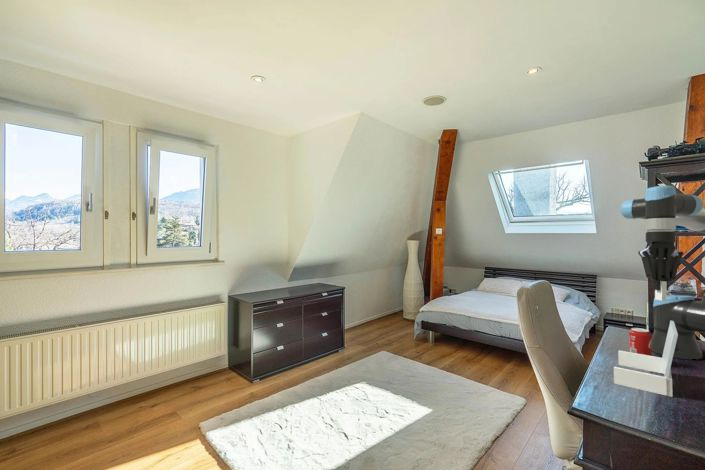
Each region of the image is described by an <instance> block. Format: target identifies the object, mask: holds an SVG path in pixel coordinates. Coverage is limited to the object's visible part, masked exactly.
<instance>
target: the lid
mask: <svg viewBox="0 0 705 470" xmlns="http://www.w3.org/2000/svg"><path fill="white" fill-rule="evenodd" d="M677 337H678V334H677V330H676V327H675V324H674V321H671V320H670V325H669V329H668V333H667V338H666V342H665V347H664V351H663V355H662V357H661V358H662V359H663V368H664V374H663V377H668V376H669V372H670V370H671V366H672V362H673V358H674V357H673V354H674V350H675V346H676V341H677Z"/></svg>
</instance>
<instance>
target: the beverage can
mask: <svg viewBox="0 0 705 470" xmlns="http://www.w3.org/2000/svg"><path fill="white" fill-rule="evenodd" d="M652 335H653V334H651V332H650V330H649V329H646V328H640V327H631V329H630V330H629V332H628V337H629V338H628V341H629V342H628V343H629V348H628V349H629V351H628V352H632V353H637V354H643V355H649V356H653V351H652Z"/></svg>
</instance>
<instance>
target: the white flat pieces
mask: <svg viewBox="0 0 705 470" xmlns="http://www.w3.org/2000/svg"><path fill="white" fill-rule="evenodd" d="M617 352H618V353H617V355H618V359H617V360H618V365H619V366H623V367H629V368H632V369H627V368H623V367H618V366H613V384H615V385H619V386H624V387H628V388H632V389H637V390H642V391H645V392H650V393H653V394H656V395H657V394H659V395H663V396H666V397H672V398H673V378H672V371H671V369H670V372H669V376H668V377H665V376H664V368H663V359H662V357H659V356H653V355H652V356H649V355H643V354H637V353H632V352H630V351H625V350H620V349H619V350H618V351H617ZM633 369H637V370H638V371H637V370H633ZM639 370H643V371H647V372H648V371H649V372H652V373H649V372H648V373H647V372H643V371H639ZM653 372H654V373H659V374H663V375H657V374H653Z"/></svg>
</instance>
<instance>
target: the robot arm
mask: <svg viewBox="0 0 705 470" xmlns="http://www.w3.org/2000/svg"><path fill="white" fill-rule="evenodd" d="M676 190H677V189H676V187H675V186H673V185H658V186H652V187H648V188H647V189H646V190H645V197H644V198H636V199H635V198H634V199H630V200H629V199H628V200H626V201H623V203H622V204H621V206H620V213H621V215H622V216H623V218H625V219H632V220H635V219H643V220H645V231H646V233H645V242H646V245H645V249H643V250H638V251H637V252H638V255H639V256H640V258H641V263H642V265H643V269H644V272H645V276H646V278H647V279H649V280H651V281H652V289H653V290H654V298H653V304H652V308H653V309H652V310H653V328H654V329H653V333H652V334H651V335H652V353H656V354H658V355H663V351H664V347H665V342H666V338H667V333H668V329H669V325H670V320H671V321H674V324H675V327H676V330H677V334H678V337H677V341H676V346H675V350H674V354H673V358H675V359H681V360H682V359H683V360H692V359H696V360H702V359H703V351H702V349H700V345H699V343H698V340H697V338H696V333H700V334H705V294H703V296H702V299H701V301H699V300H696V299H695V297H694V296H692V295H668V294H667V291H669V282H672V280H675V279H676V276H677V273H678V270H679V265H680V262H681V259H682V257H683V255H684V252H683V251H679V250H677V248H676V246H675V243H676V241H677V233H676V232H675V231H676V230H677V226H680V227H685V228H686V229H687V230H689V231H692V232H696V233H697V232H698V233H701V234H702V233H703V234H705V208H703V207H704V201H703V200H702V198H701V197H699V196H698V195H693V194H690V193H677V191H676Z"/></svg>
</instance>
